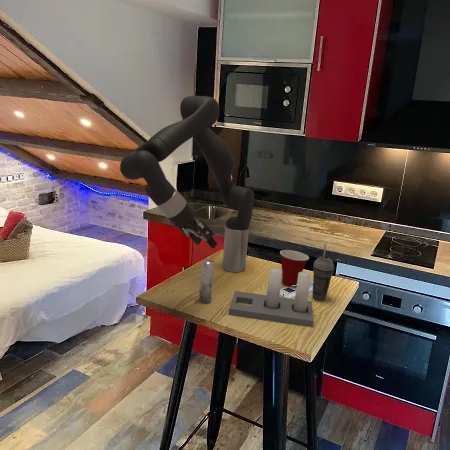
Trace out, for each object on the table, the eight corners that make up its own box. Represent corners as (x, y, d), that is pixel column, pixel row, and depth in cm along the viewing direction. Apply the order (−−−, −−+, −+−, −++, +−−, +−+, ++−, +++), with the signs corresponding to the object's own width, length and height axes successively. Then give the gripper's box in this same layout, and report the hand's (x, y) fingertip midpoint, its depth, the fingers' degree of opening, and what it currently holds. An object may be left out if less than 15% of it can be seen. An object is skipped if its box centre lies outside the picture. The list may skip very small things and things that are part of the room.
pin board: (234, 296, 148) (238, 257, 144) (311, 307, 145) (316, 268, 141) (228, 314, 135) (232, 272, 131) (312, 326, 131) (318, 284, 128)
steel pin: (200, 297, 145) (203, 258, 141) (211, 299, 144) (215, 260, 141) (197, 302, 141) (200, 262, 137) (209, 304, 140) (212, 264, 137)
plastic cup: (310, 288, 160) (315, 258, 157) (285, 290, 156) (289, 259, 153) (295, 277, 170) (299, 248, 166) (271, 279, 166) (274, 249, 162)
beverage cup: (314, 303, 148) (322, 248, 142) (304, 294, 154) (312, 241, 149) (333, 302, 150) (341, 248, 144) (323, 293, 156) (331, 241, 151)
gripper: (196, 199, 120) (228, 238, 128) (171, 197, 131) (201, 232, 139) (179, 219, 117) (213, 257, 125) (155, 215, 129) (187, 250, 137)
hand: (207, 244), depth 132 cm, fingers open, 8 cm apart
